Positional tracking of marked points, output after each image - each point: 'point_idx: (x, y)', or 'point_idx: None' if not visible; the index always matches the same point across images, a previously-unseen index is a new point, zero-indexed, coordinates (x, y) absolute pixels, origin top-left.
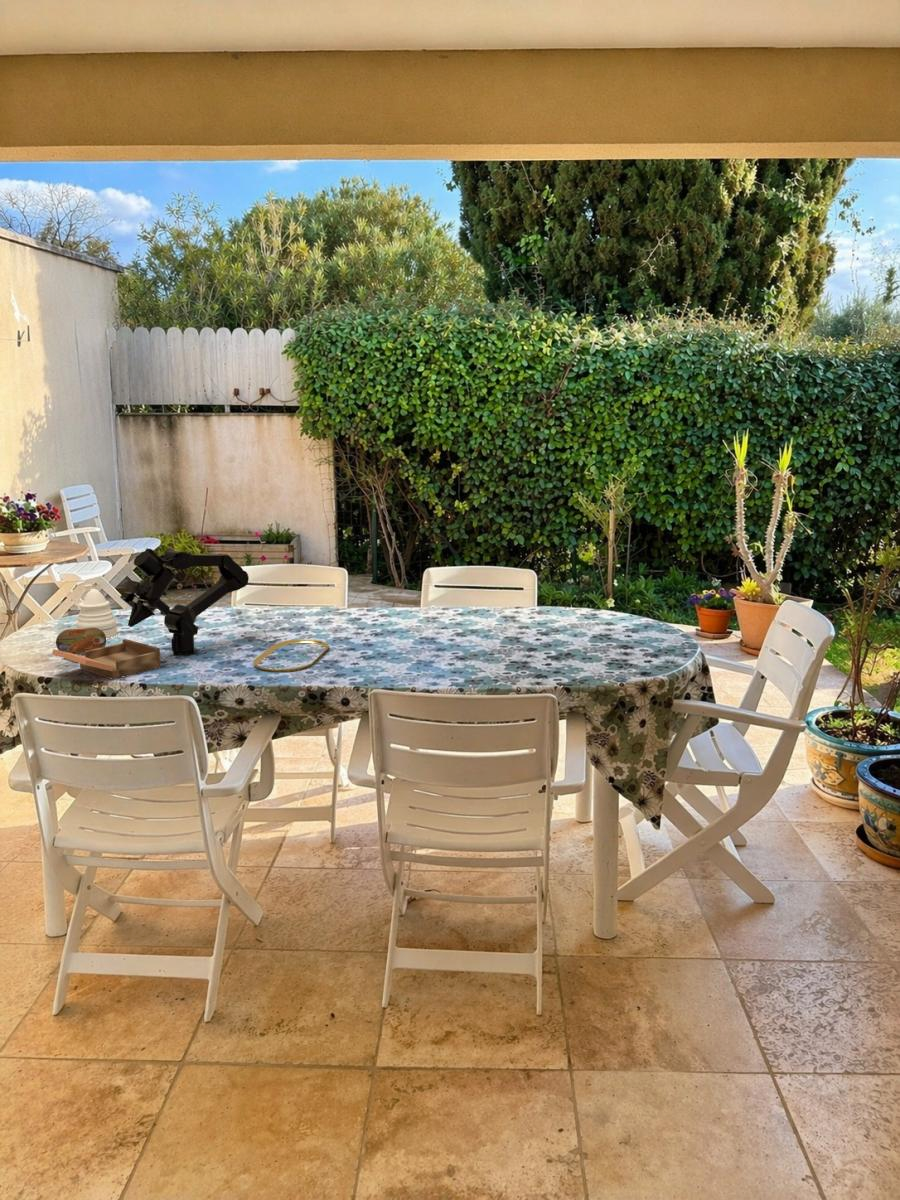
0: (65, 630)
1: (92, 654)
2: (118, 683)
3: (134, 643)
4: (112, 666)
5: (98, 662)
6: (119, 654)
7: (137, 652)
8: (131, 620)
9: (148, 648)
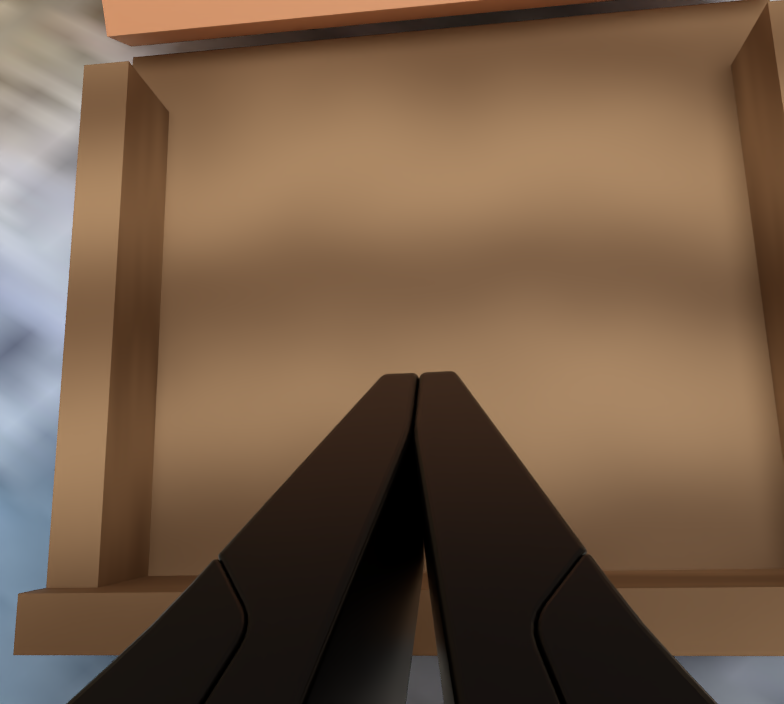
0: None
1: (758, 97)
2: (45, 83)
3: None
4: (109, 27)
5: None
6: (686, 422)
7: None
8: (362, 439)
9: None
